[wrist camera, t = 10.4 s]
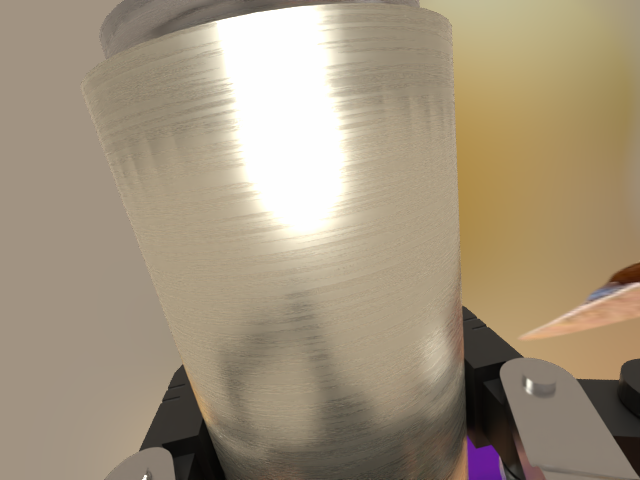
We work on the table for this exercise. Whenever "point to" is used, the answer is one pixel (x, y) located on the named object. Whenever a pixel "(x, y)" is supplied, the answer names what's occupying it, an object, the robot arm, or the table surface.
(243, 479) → the spout can
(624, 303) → the table surface
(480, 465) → the crystal
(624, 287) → the table surface
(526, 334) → the table surface
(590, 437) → the robot arm
